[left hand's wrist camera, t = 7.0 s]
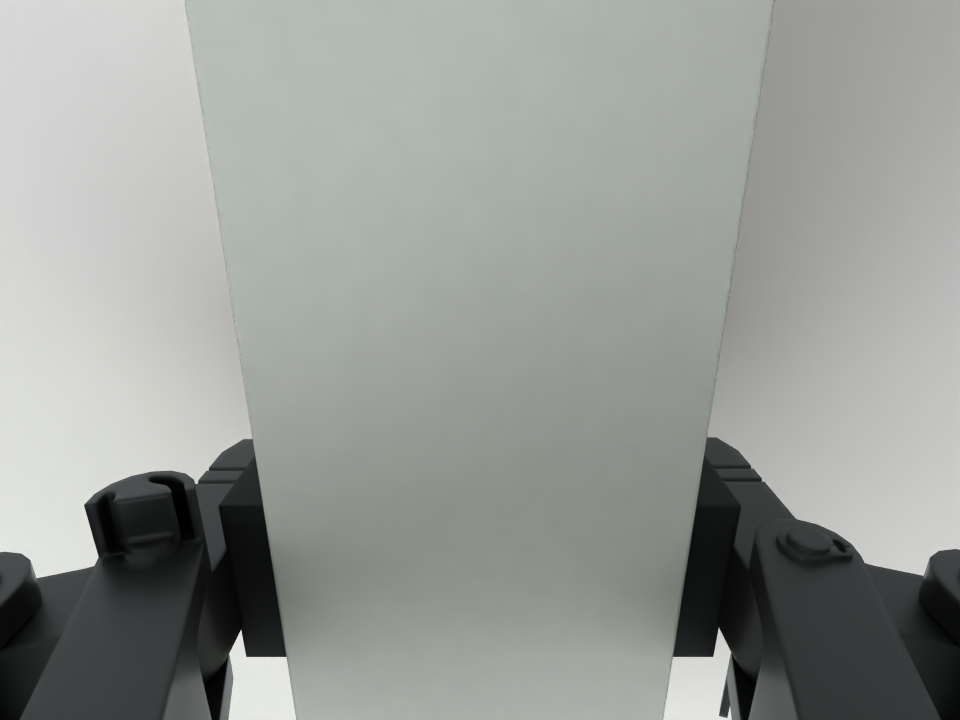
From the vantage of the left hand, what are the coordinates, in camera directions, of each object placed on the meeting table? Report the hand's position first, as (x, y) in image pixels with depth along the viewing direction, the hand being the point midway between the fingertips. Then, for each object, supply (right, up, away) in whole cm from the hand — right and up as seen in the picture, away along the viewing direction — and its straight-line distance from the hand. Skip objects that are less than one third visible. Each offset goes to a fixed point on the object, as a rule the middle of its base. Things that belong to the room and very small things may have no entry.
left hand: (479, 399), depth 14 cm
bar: (0, +23, -8) cm, 24 cm away
